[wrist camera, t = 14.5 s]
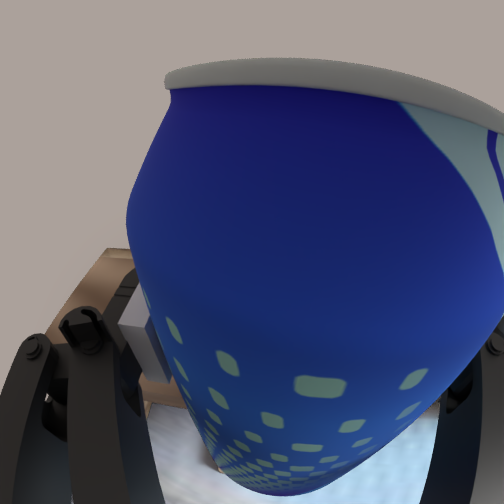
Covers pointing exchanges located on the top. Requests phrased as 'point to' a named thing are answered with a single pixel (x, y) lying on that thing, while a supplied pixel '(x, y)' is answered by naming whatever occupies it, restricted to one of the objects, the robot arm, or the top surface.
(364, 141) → the beer can
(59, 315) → the dock
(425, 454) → the top surface
